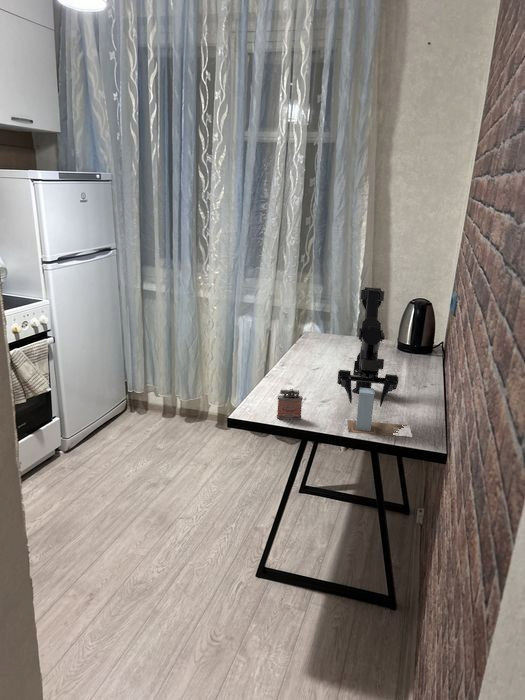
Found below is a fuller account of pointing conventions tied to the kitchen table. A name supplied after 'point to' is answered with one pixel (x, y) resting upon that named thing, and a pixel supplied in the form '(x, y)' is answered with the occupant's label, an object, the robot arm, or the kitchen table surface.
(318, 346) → the kitchen table surface
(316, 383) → the kitchen table surface
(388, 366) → the kitchen table surface
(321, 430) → the kitchen table surface
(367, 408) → the tall block
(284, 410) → the lighter
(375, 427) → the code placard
